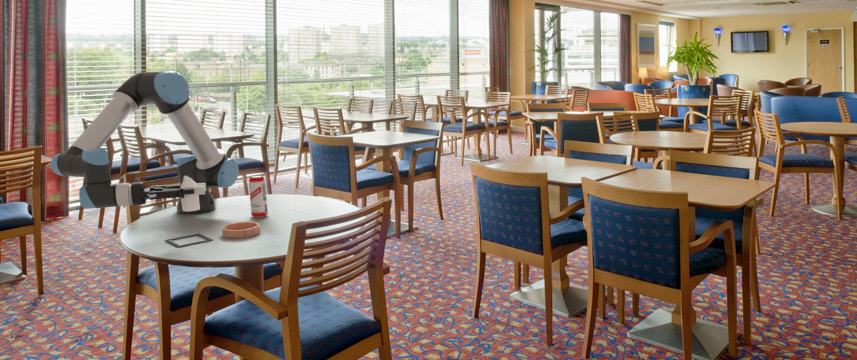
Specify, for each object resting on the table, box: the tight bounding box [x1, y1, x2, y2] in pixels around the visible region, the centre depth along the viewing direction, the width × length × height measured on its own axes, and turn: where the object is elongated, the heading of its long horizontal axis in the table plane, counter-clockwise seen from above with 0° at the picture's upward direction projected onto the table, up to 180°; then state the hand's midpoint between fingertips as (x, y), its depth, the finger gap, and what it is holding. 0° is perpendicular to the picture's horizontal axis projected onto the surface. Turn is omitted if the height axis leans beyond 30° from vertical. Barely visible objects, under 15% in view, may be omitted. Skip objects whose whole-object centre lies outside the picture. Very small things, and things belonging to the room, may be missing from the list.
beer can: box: [248, 174, 269, 219], centre depth 261 cm, size 6×6×16 cm
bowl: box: [221, 221, 261, 239], centre depth 237 cm, size 13×13×3 cm
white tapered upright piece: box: [180, 176, 200, 212], centre depth 227 cm, size 6×12×6 cm
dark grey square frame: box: [164, 232, 214, 248], centre depth 230 cm, size 12×12×1 cm
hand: (205, 188), depth 228 cm, fingers closed on white tapered upright piece, 6 cm apart
